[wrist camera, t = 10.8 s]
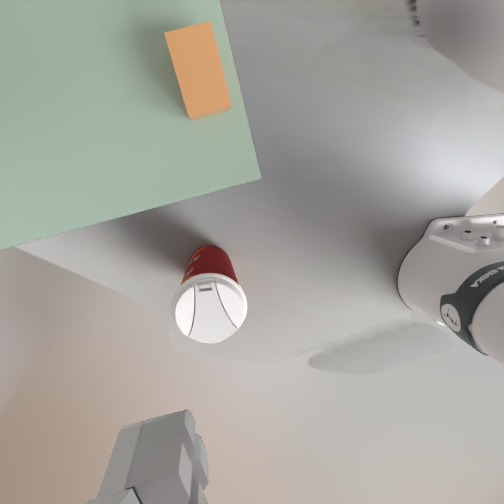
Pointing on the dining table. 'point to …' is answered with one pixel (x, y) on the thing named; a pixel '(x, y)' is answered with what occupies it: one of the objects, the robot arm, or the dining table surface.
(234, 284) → the coffee cup
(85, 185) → the lid
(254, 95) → the dining table surface
